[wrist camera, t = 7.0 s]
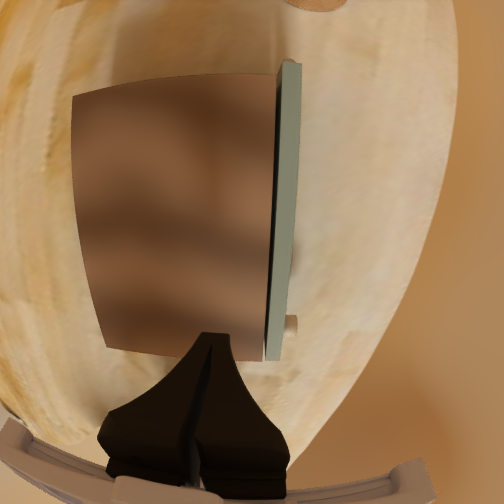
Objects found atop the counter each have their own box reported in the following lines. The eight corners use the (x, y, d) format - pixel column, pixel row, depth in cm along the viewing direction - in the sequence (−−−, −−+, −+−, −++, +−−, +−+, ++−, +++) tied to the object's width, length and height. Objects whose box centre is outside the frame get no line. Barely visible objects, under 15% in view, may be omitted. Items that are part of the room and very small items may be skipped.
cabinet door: (289, 323, 23) (296, 360, 18) (263, 322, 23) (265, 360, 18) (307, 78, 16) (324, 60, 11) (275, 75, 16) (282, 55, 11)
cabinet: (260, 321, 23) (262, 361, 19) (128, 313, 23) (106, 347, 18) (270, 92, 17) (276, 75, 12) (109, 103, 16) (72, 96, 12)
